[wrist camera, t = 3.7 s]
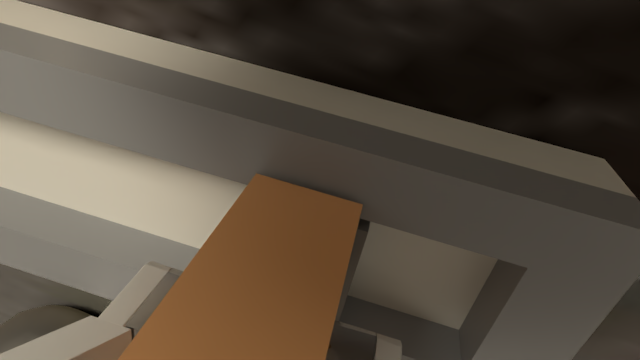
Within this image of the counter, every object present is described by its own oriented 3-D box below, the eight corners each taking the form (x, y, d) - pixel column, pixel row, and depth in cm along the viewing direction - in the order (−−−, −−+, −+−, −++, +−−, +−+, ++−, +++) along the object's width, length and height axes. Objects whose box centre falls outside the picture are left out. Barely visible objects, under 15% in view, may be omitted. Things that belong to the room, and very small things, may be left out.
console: (604, 158, 11) (672, 240, 8) (495, 332, 15) (513, 435, 12) (-290, -82, 14) (-500, -90, 10) (-196, 118, 17) (-332, 156, 14)
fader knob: (383, 173, 10) (331, 447, 5) (339, 308, 13) (272, 593, 7) (266, 140, 11) (85, 362, 5) (246, 278, 13) (109, 531, 7)
